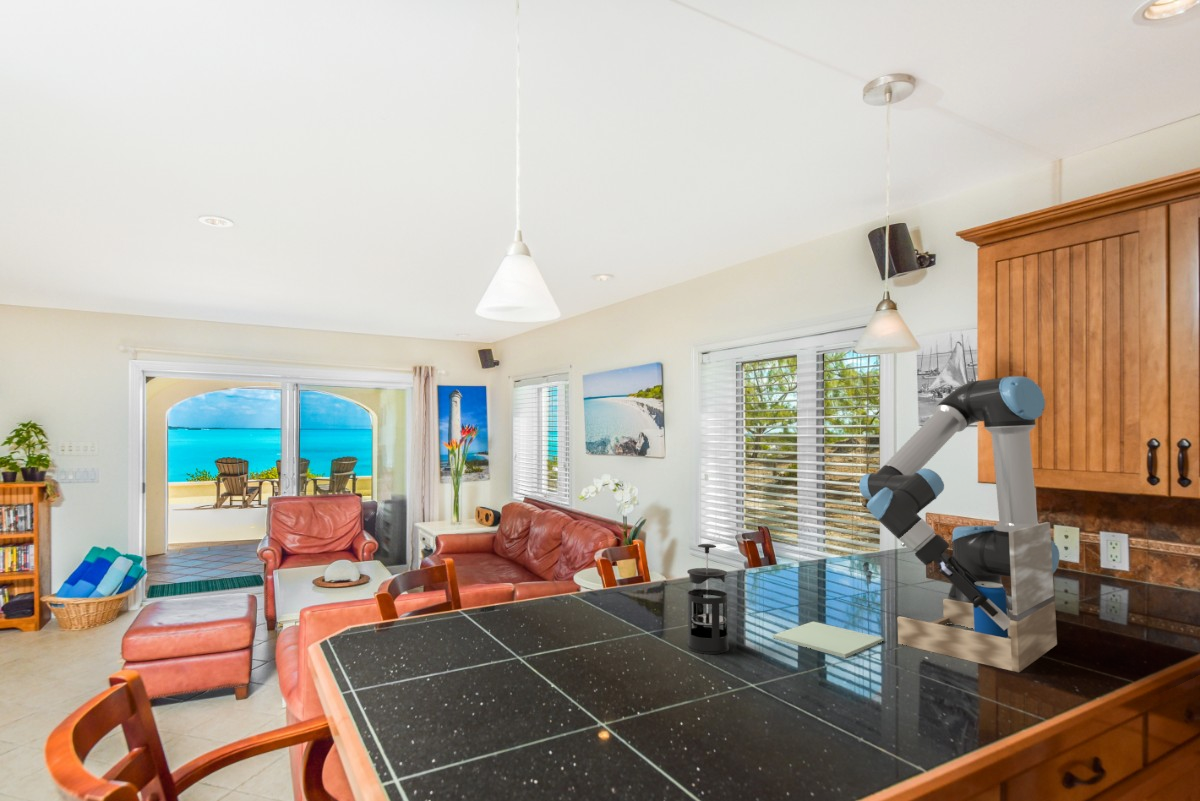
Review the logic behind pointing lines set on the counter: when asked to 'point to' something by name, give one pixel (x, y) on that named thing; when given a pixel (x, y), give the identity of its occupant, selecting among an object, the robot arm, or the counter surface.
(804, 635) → the mat
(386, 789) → the counter surface
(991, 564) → the robot arm
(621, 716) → the counter surface
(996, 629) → the beverage can
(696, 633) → the french press
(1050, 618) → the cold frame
